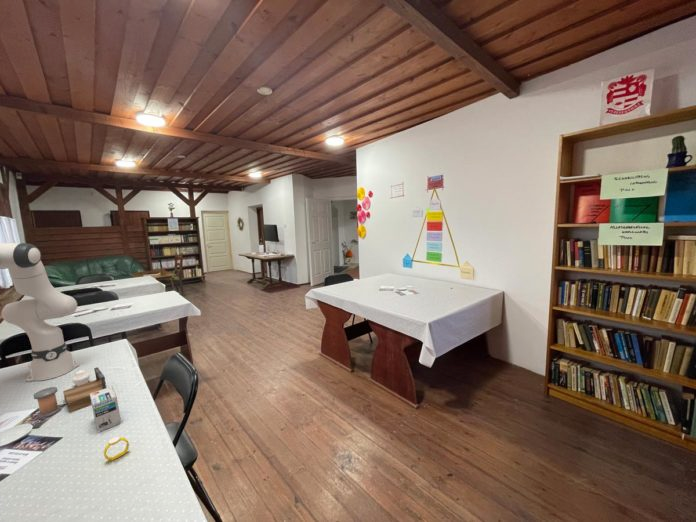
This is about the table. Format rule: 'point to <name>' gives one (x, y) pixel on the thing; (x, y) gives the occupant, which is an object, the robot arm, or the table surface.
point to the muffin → (81, 377)
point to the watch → (112, 442)
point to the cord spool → (47, 402)
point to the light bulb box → (105, 408)
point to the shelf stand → (84, 392)
